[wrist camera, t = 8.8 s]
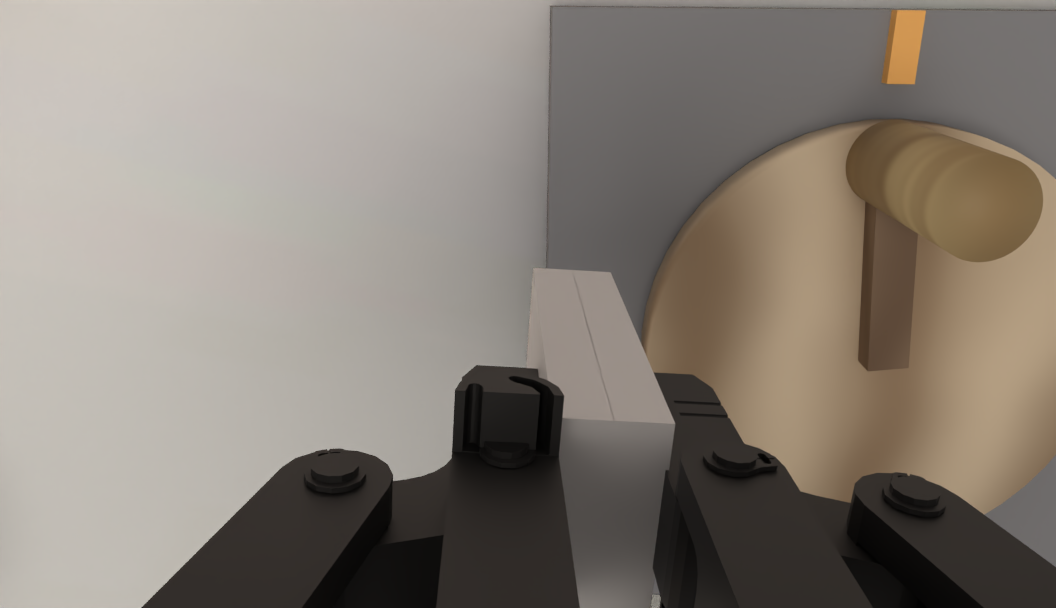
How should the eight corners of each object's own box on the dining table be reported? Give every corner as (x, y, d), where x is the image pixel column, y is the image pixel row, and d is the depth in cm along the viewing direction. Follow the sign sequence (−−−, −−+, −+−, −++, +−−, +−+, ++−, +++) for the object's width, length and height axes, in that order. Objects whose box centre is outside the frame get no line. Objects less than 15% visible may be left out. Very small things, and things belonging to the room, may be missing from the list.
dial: (649, 541, 30) (685, 695, 24) (630, 133, 26) (669, 185, 19) (1053, 509, 30) (1203, 655, 24) (1112, 90, 25) (1321, 127, 19)
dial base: (1069, 567, 33) (1100, 601, 31) (541, 568, 33) (542, 602, 31) (1215, 11, 26) (1266, 13, 24) (550, 5, 26) (552, 7, 24)
